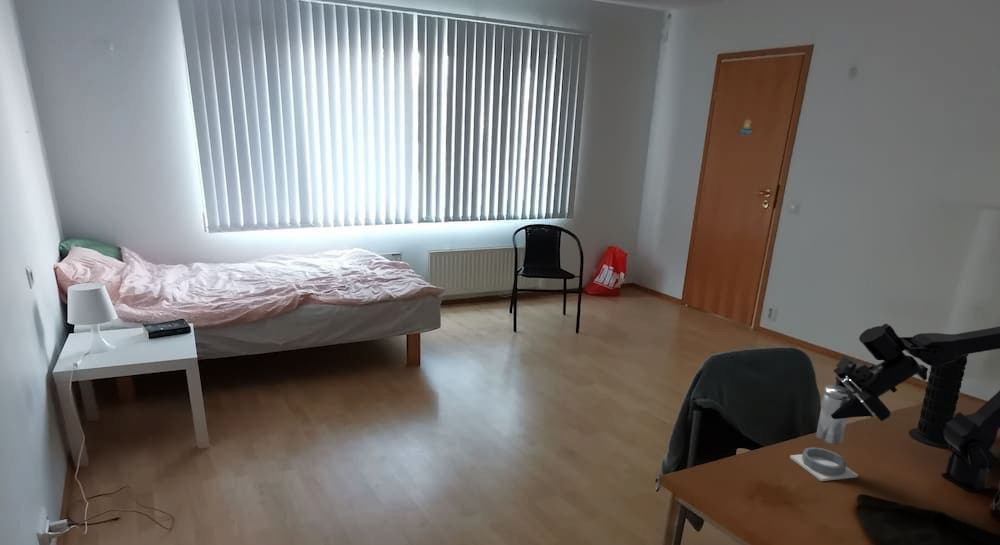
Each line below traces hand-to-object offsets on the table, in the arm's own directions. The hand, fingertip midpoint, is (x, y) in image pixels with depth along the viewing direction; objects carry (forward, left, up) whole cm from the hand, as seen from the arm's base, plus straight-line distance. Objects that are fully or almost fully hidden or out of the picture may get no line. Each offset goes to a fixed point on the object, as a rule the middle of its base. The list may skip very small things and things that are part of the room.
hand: (827, 411), depth 130 cm
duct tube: (-1, -1, -7) cm, 7 cm away
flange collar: (-2, 0, -13) cm, 14 cm away
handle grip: (+5, -41, -14) cm, 43 cm away
